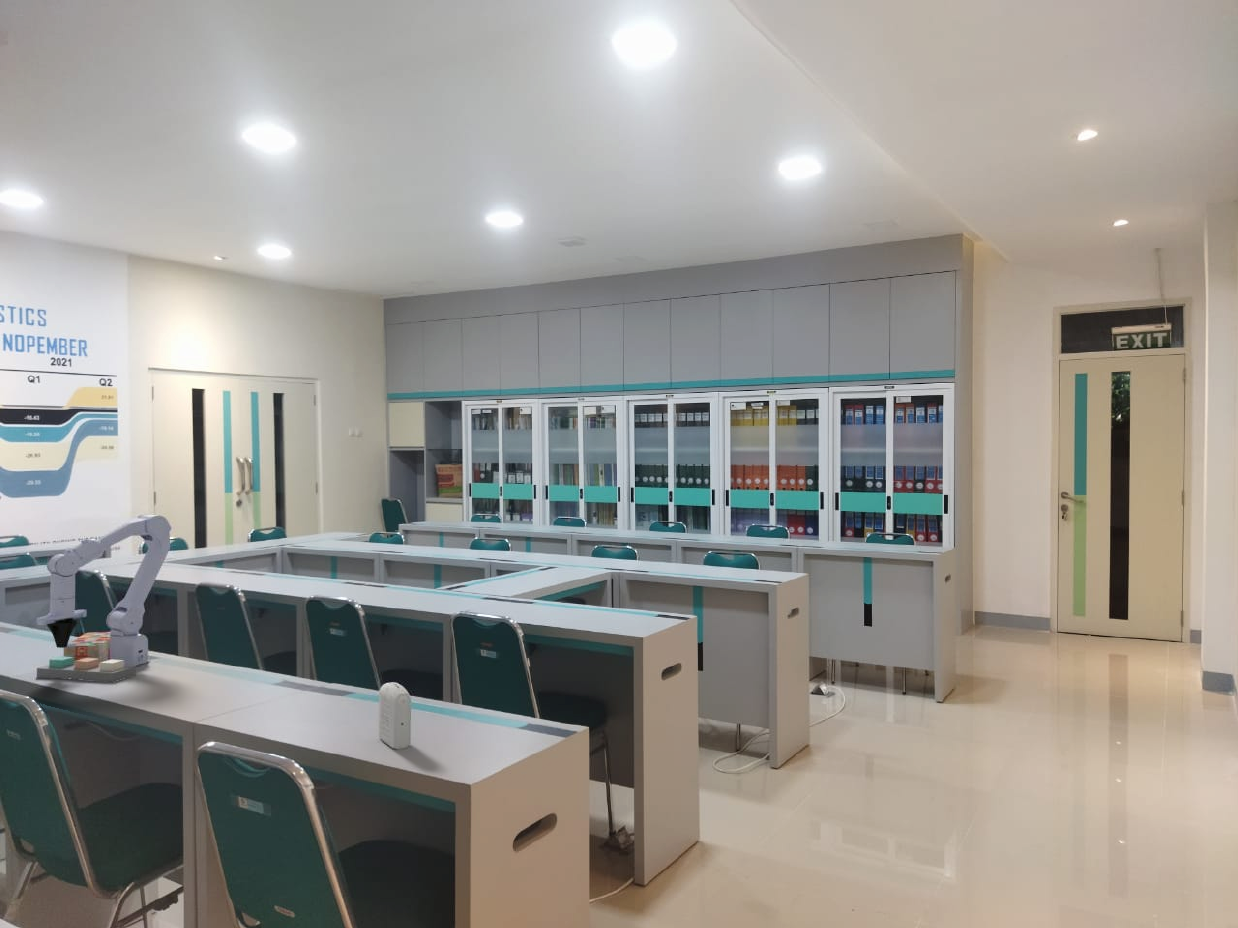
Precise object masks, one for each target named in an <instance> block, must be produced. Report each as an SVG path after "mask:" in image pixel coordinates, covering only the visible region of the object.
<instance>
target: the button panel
mask: <svg viewBox="0 0 1238 928" xmlns="http://www.w3.org/2000/svg"><path fill="white" fill-rule="evenodd" d="M74 666H75V662H74V665H71V666H67V667H64V668H55V667H49V664H47V665H43V666H41V667H36V678H42V679H55V678H71V679H83V680H82V681H85V680H94V681H93V682H100V681H107V682H106V683H116V682H118V681H117V680H119V681H121V680H120V679H122V680H124V679H123V678H125V679H128V678H131V677H134V676H136V675H137V666H125V665H124V668H122V669H118V670H115V671H103V670H100V664H99V666H98V667H94V668H91V669H74ZM115 681H116V682H115Z"/></svg>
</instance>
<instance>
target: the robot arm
mask: <svg viewBox="0 0 1238 928" xmlns="http://www.w3.org/2000/svg"><path fill="white" fill-rule="evenodd" d="M171 530H172V527H171V524H170V522H169V520H168V519H167V518H166V516H163V515H158V514H156V515H151V514H145V513H144V514H141V515H139V516H137V517H133V518H130V519H129V520H127V522H125V523H123V524H121V525H119V526H118V527H117V528H115V529H113V530H111V531H110V532H108V533H107V534H104V535H103V536H101V537H100V538H98V539H94V538H89V539H87V538H84V539H82V540H80V543H79V544H77V545H75V546H73V547H72V548H70V549H69V548H67V549H64V553H59V554H54V555H53V556H52V557H51V558H50V560H48V564H47V565H46V569H47V570H48V572H49V574H50V585H49V586H50V588H49V589H50V590H49V591H50V592H49V596H50V597H49V599H50V600H49V603H50V604H49V613H47V614H46V615H44V616H40V617H36V626H47V627H48V629H49V631H50V632H51V634H52V636H53V639H54V642H55V645H56V648H61V649H64V647H67V644H69V640H70V638H71V635H72V632H73V631H74V629H75V627H76V626H77V624H78V620H77V619H79V618H86V617H87V610H88V609H77V610H76V607H75V606H76V574H77V573H78V572H79V570H80V568H82V567H84V566H85V565H88V564H89V563H91V562H92V561H94V560H97V559H98V558H100V557H102V556H103V555H104V552H105V550H106V549H107V548H110V547H112V546H114V545H116V544H117V543H120V542H121V541H124V540H126V539H128V538H130V537H134V536H135V537H136V536H140V538H141V539H142V540H143V541H144V543H145V545H146V546H147V551H146V553H145V555H144V557H143V559H142V561H141V563H140V565H139V568H138V569H137V571H136V573H135V575H134V577H133V580H132V582H131V583H130V586H129V587H128V589H127V591H126V594H125V596H124V598H122V599H121V600H120V601H119V602H118V603H116V606H115V608H114V609H112V611H110V613H108V615H107V617H106V620H105V621H106V625H107V627H108V628H109V629H110V631H109V632H110V659H109V660H111V659H114V660H124V665H125V666H136V667H137V666H140V665H143V664H147V663H150V661H151V660H150V659H149V640H148V637H147V636H146V635H144V634H141V633H139V632H140V631H139V630H140V629H141V628H142V626H143V621H144V619H143V618H144V614H145V612H146V610H145V605H144V604H145V602H146V599H147V598H148V595H149V593H150V591H151V590H152V587H153V585H154V583H155V581H156V578H157V577H158V574H159V572H160V570H161V568H162V566H163V564H164V562H165V560H166V558H167V556H168V553H169V551H170V549H171V535H170V534H171V533H170V532H171Z"/></svg>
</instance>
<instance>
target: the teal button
mask: <svg viewBox="0 0 1238 928" xmlns="http://www.w3.org/2000/svg"><path fill="white" fill-rule="evenodd" d="M48 663H49V664H48V665H49V667H55V668H64V667H67V666H71V665H74V657H64V655H63V656H62V655H61V656H58V657H53V658H51V659H49V662H48Z"/></svg>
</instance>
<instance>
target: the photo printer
mask: <svg viewBox="0 0 1238 928" xmlns="http://www.w3.org/2000/svg"><path fill="white" fill-rule="evenodd" d="M378 696H379V698H378V700H379V701H378V738H379V739H381V741H383V742H384V743H385V744H387V745H388V746H389V747H390V748H392V749H395V750H403V749H407V748H408V747H410V745H411V740H412V739H411V735H412V732H411V731H412V699H411V695H410V693H409V692H408V690H407V689H406V688H405V687H404V686H403V685H401V684H399V683H398V682H387V683H383V684H382V686H381V687H380V689H379V695H378Z"/></svg>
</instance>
